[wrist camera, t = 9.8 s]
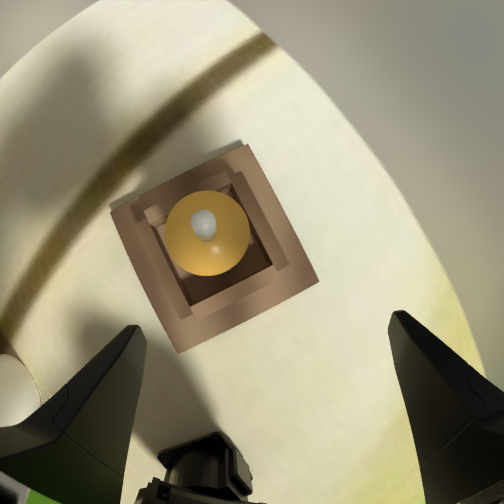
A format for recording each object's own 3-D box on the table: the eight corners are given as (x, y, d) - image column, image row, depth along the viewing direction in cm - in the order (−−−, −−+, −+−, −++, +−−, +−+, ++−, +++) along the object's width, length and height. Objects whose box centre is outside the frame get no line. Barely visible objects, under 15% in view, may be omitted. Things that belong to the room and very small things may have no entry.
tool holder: (179, 350, 22) (173, 362, 19) (114, 214, 22) (99, 206, 19) (315, 281, 24) (329, 282, 20) (246, 148, 24) (250, 131, 20)
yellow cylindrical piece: (201, 280, 22) (179, 298, 9) (179, 236, 22) (131, 199, 9) (245, 258, 22) (278, 246, 10) (222, 214, 22) (228, 151, 10)
